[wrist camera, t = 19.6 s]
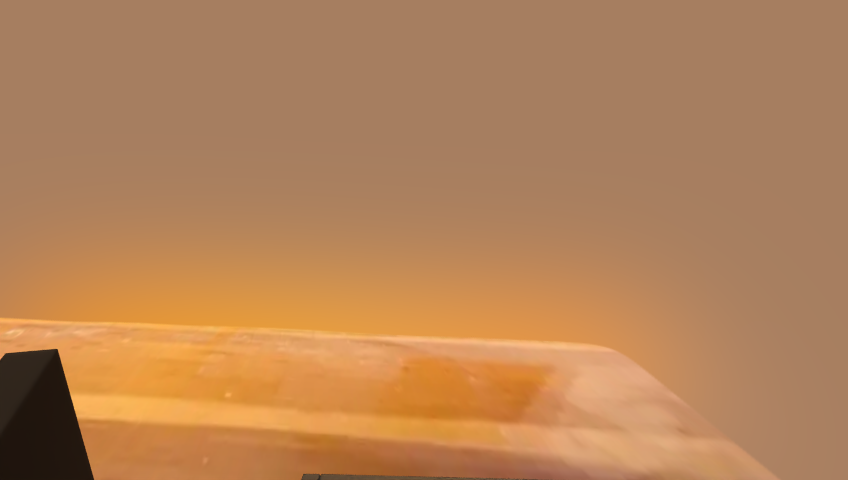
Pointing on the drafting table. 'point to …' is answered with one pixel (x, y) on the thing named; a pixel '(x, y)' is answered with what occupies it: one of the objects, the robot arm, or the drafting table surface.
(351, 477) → the bin
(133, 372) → the drafting table surface
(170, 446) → the drafting table surface
